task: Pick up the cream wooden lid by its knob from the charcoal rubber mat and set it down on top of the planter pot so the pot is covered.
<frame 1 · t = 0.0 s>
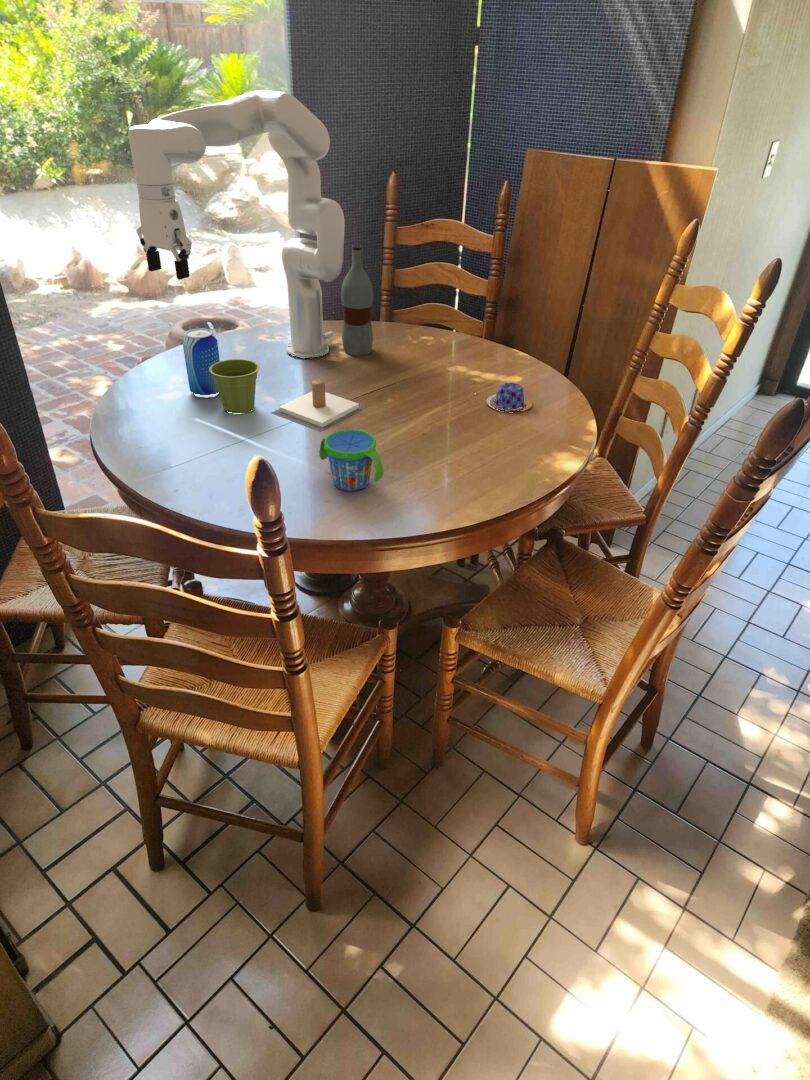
hand: (169, 274, 161), 31 cm above the table, tool pointing down, fingers open, 9 cm apart
bottle: (357, 351, 211), on the table
lid: (319, 409, 176), point 1 cm above the table, touching mat
mat: (319, 411, 176), on the table
beer can: (207, 393, 183), on the table
plant pot: (239, 411, 176), on the table
snack cup: (351, 484, 149), on the table
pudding: (509, 405, 184), on the table
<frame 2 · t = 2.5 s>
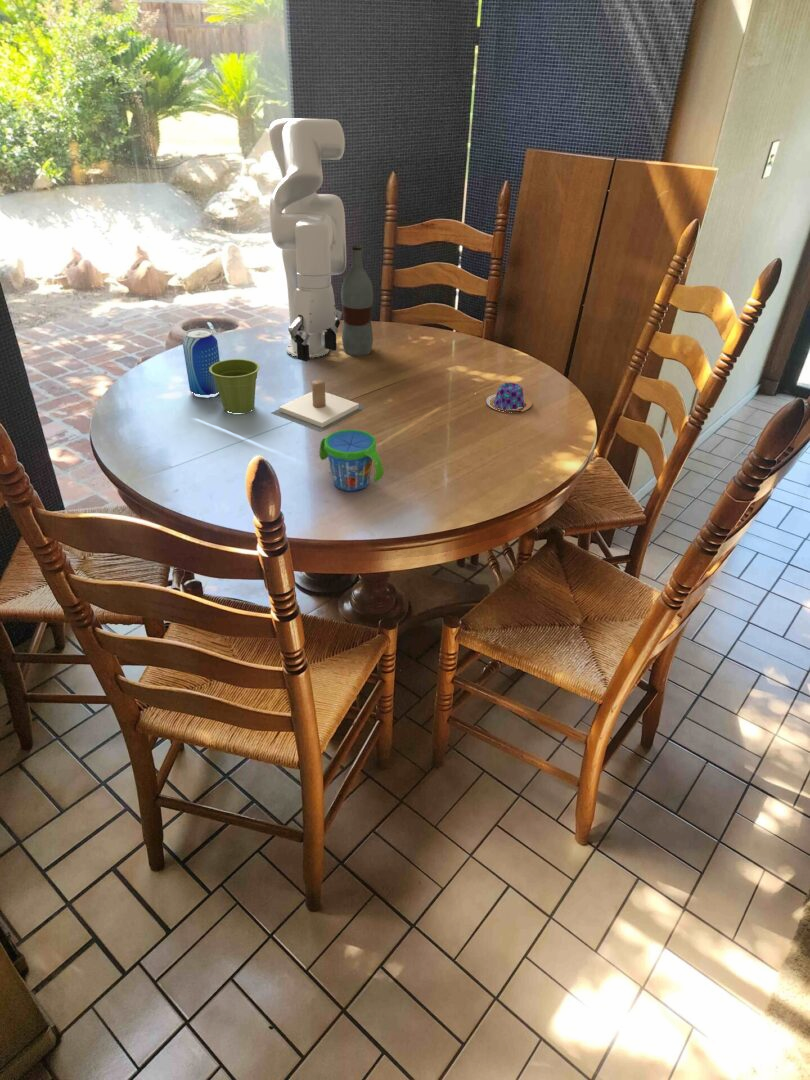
hand: (317, 354, 167), 15 cm above the table, tool pointing down, fingers open, 9 cm apart
nothing on the table moved.
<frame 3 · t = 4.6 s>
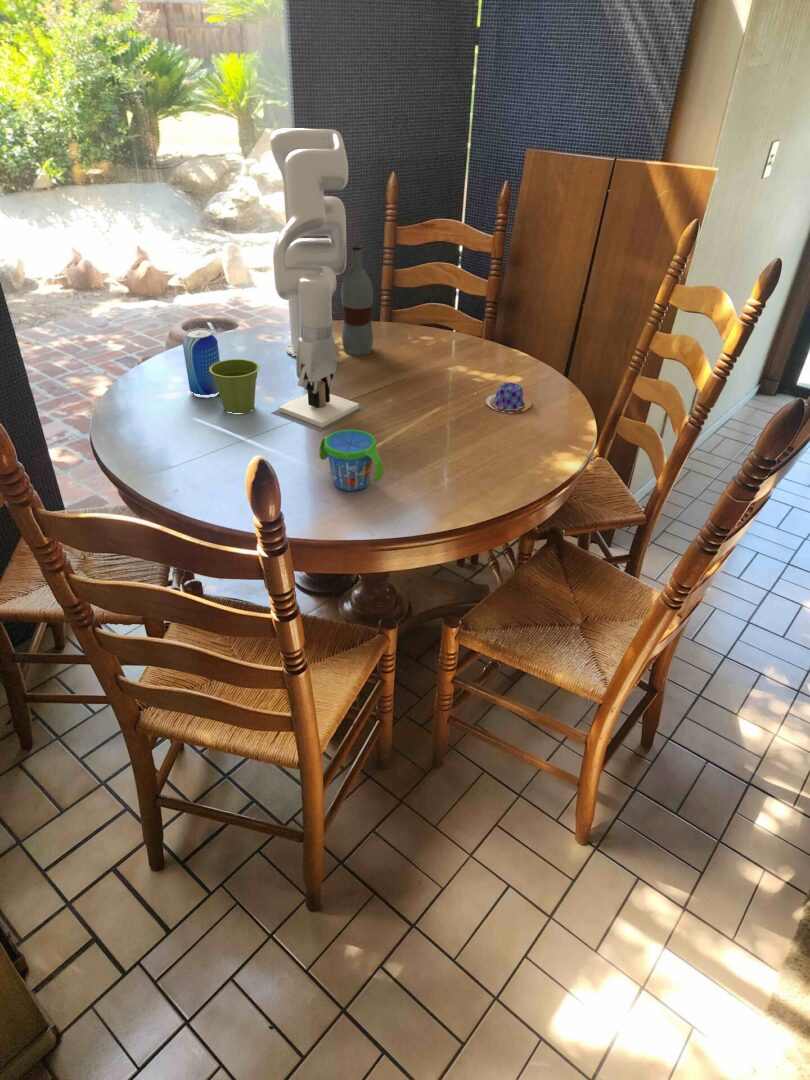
hand: (319, 402, 175), 2 cm above the table, tool pointing down, fingers closed on lid, 3 cm apart
lid: (319, 409, 176), point 1 cm above the table, touching gripper, mat
everything else where it was.
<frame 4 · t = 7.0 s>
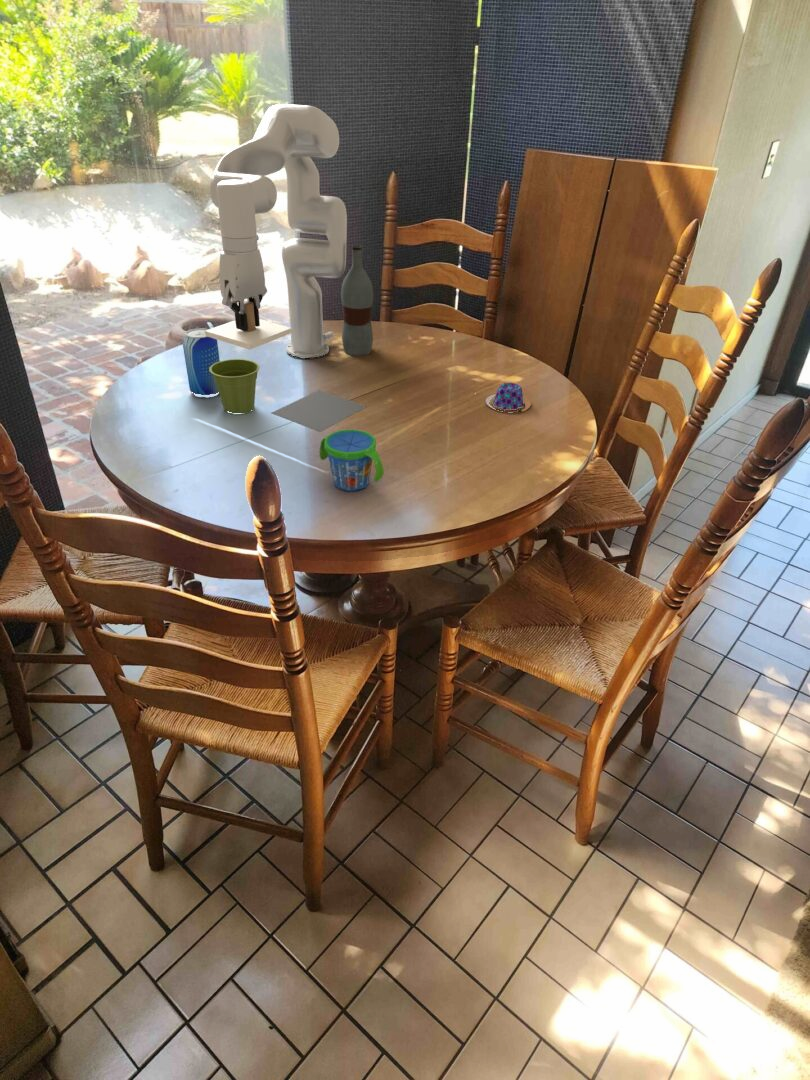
hand: (248, 326, 163), 21 cm above the table, tool pointing down, fingers closed on lid, 3 cm apart
lid: (249, 334, 164), point 19 cm above the table, touching gripper
everything else where it was.
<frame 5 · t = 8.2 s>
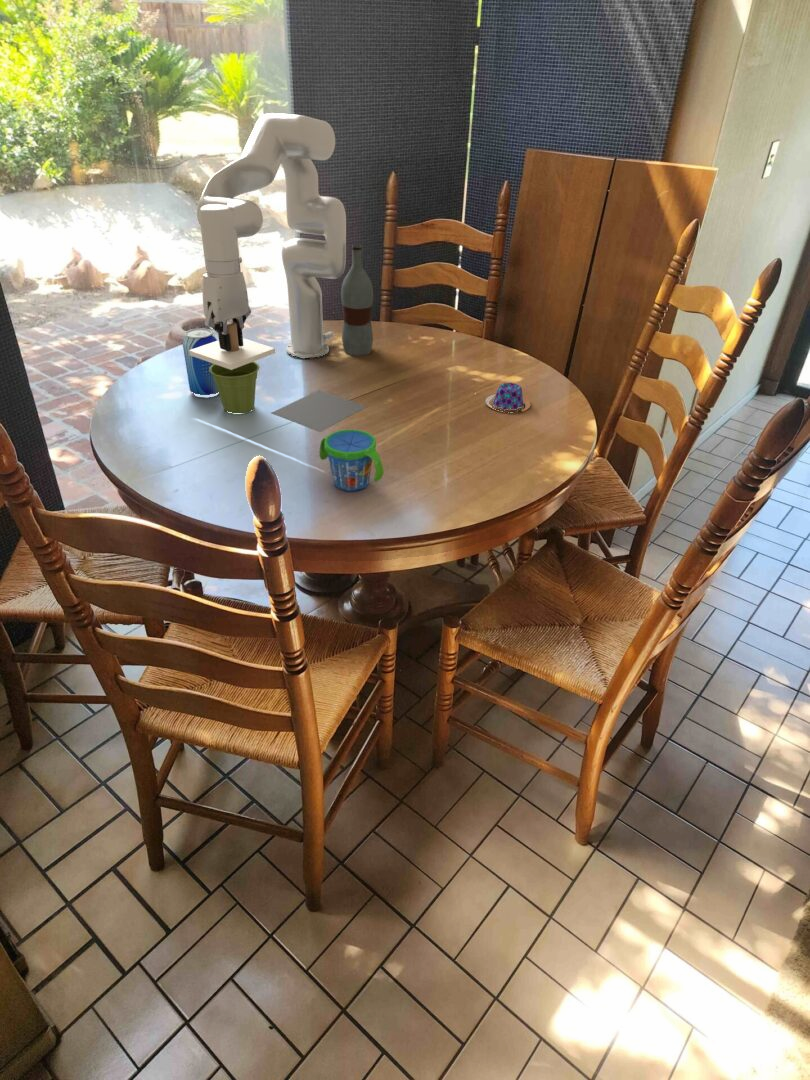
hand: (231, 346, 166), 16 cm above the table, tool pointing down, fingers closed on lid, 3 cm apart
lid: (232, 354, 167), point 15 cm above the table, touching gripper
everything else where it was.
when the fingers open (14 cm above the table, at t = 9.2 s): lid drops 1 cm, resting on plant pot.
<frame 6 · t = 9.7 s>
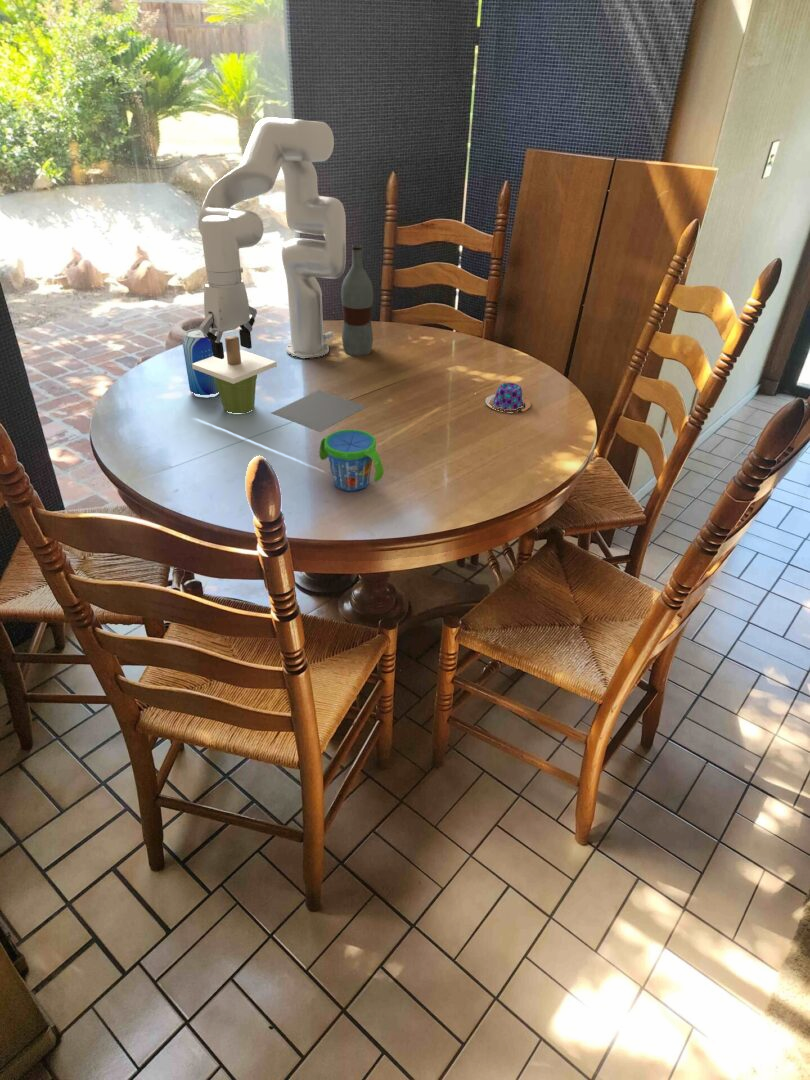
hand: (232, 352, 167), 15 cm above the table, tool pointing down, fingers open, 8 cm apart
lid: (235, 367, 169), point 11 cm above the table, touching plant pot
plant pot: (239, 411, 176), on the table, touching lid
everything else where it was.
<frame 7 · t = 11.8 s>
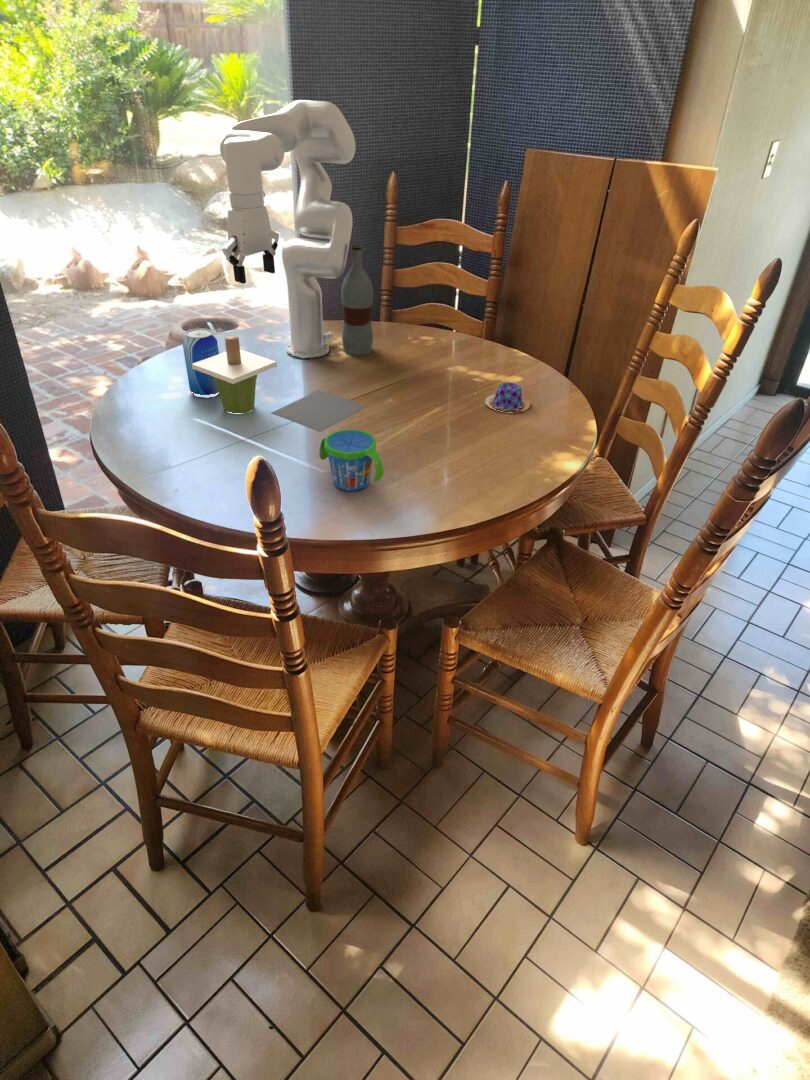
hand: (255, 277, 170), 29 cm above the table, tool pointing down, fingers open, 9 cm apart
nothing on the table moved.
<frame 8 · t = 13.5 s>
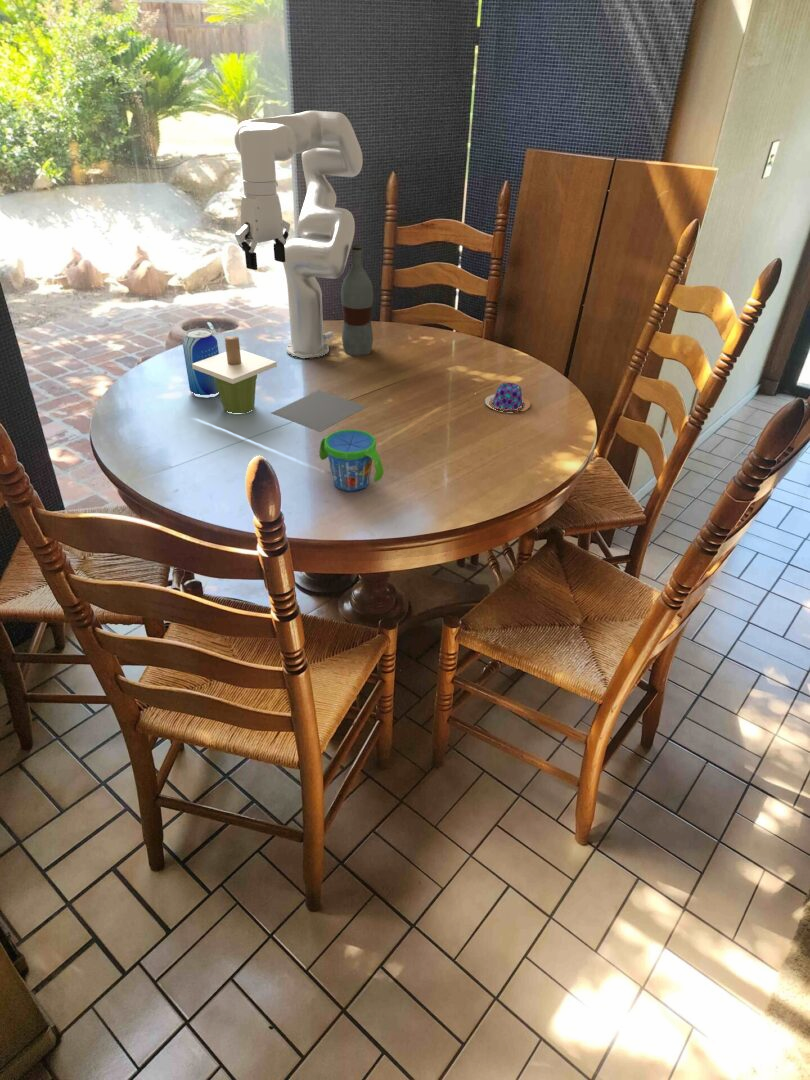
hand: (266, 265, 173), 30 cm above the table, tool pointing down, fingers open, 9 cm apart
nothing on the table moved.
at the end: lid inside the target area on the plant pot (0.1 cm from its centre), point 11.4 cm above the plant pot's base; lid tilted 0°; the gripper is holding nothing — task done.
